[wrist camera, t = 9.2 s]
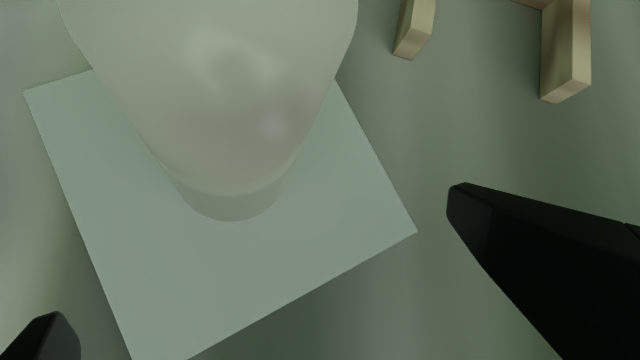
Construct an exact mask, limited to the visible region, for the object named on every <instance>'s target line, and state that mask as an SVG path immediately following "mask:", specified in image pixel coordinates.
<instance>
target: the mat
mask: <svg viewBox="0 0 640 360" xmlns="http://www.w3.org/2000/svg"><path fill="white" fill-rule="evenodd" d="M22 92H23V94H24V97H25V99H26V102H27V104H28V106H29V109H30V111H31V114H32V116H33V119H34V121H35V124H36V126H37V128H38V131H39V133H40V136H41V138H42V141H43V143H44V146H45V148H46V150H47V153H48V155H49V158H50V160H51V163H52V165H53V168H54V170H55V172H56V175H57V177H58V180H59V182H60V185H61V187H62V190H63V192H64V194H65V197H66V199H67V202H68V204H69V207H70V209H71V212H72V214H73V216H74V219H75V221H76V224H77V226H78V229H79V231H80V234H81V236H82V238H83V241H84V243H85V246H86V248H87V251H88V253H89V256H90V258H91V260H92V263H93V265H94V268H95V270H96V273H97V275H98V277H99V280H100V282H101V285H102V287H103V290H104V292H105V295H106V297H107V299H108V302H109V304H110V307H111V309H112V312H113V314H114V317H115V319H116V321H117V324H118V326H119V329H120V331H121V334H122V336H123V339H124V341H125V343H126V346H127V348H128V351H129V353H130V356H131V358H132V360H187V359H189V358H191V357H193V356H195V355H196V354H198V353H200V352H202V351H204V350H205V349H207V348H209V347H211V346H213V345H214V344H216V343H218V342H220V341H222V340H223V339H225V338H227V337H229V336H231V335H232V334H234V333H236V332H238V331H240V330H241V329H243V328H245V327H247V326H249V325H250V324H252V323H254V322H256V321H258V320H259V319H261V318H263V317H265V316H267V315H268V314H270V313H272V312H274V311H276V310H277V309H279V308H281V307H283V306H285V305H286V304H288V303H290V302H292V301H294V300H295V299H297V298H299V297H301V296H303V295H304V294H306V293H308V292H310V291H312V290H313V289H315V288H317V287H319V286H321V285H322V284H324V283H326V282H328V281H330V280H331V279H333V278H335V277H337V276H339V275H340V274H342V273H344V272H346V271H348V270H349V269H351V268H353V267H355V266H357V265H358V264H360V263H362V262H364V261H366V260H367V259H369V258H371V257H373V256H375V255H376V254H378V253H380V252H382V251H384V250H385V249H387V248H389V247H391V246H393V245H394V244H396V243H398V242H400V241H402V240H403V239H405V238H407V237H409V236H411V235H412V234H414V233H416V232H418V231H417V229H416V227H415V225H414V223H413V221H412V220H411V218H410V216H409V214H408V212H407V210H406V209H405V207H404V205H403V203H402V201H401V199H400V198H399V196H398V194H397V192H396V190H395V188H394V187H393V185H392V183H391V181H390V179H389V177H388V176H387V174H386V172H385V170H384V168H383V166H382V165H381V163H380V161H379V159H378V157H377V155H376V154H375V152H374V150H373V148H372V146H371V144H370V143H369V141H368V139H367V137H366V135H365V133H364V132H363V130H362V128H361V126H360V124H359V122H358V121H357V119H356V117H355V115H354V113H353V111H352V110H351V108H350V106H349V104H348V102H347V100H346V99H345V97H344V95H343V93H342V91H341V89H340V88H339V86H338V84H337V82H336V80H335V78H334V80H333V82H332V84H331V86H330V88H329V90H328V93H327V95H326V97H325V99H324V101H323V103H322V106H321V108H320V110H319V112H318V114H317V117H316V119H315V121H314V123H313V125H312V127H311V130H310V132H309V134H308V136H307V138H306V141H305V143H304V145H303V147H302V149H301V151H300V154H299V156H298V158H297V160H296V162H295V165H294V167H293V169H292V171H291V173H290V175H289V178H288V180H287V182H286V184H285V186H284V188H283V191H282V193H281V194H280V196H279V197H278V199H277V200H276V201H275V202H274V204H273V205H272V206H270V207H269V208H268V209H267V210H265V211H264V212H263V213H261V214H259V215H257V216H255V217H253V218H250V219H247V220H242V221H235V222H225V221H218V220H214V219H211V218H208V217H206V216H204V215H202V214H200V213H198V212H197V211H195V210H194V209H193V208H192V207H190V206H189V205H188V204H187V203H186V201H185V200H184V199H183V198H182V196H181V195H180V193H179V192H178V190H177V189H176V188H175V186H174V185H173V183H172V182H171V180H170V179H169V177H168V176H167V175H166V173H165V172H164V170H163V169H162V167H161V166H160V165H159V163H158V162H157V160H156V159H155V157H154V156H153V154H152V153H151V152H150V150H149V149H148V147H147V146H146V144H145V143H144V142H143V140H142V139H141V137H140V136H139V134H138V133H137V132H136V130H135V129H134V127H133V126H132V124H131V123H130V121H129V120H128V119H127V117H126V116H125V114H124V113H123V111H122V110H121V109H120V107H119V106H118V104H117V103H116V101H115V100H114V99H113V97H112V96H111V94H110V93H109V91H108V90H107V88H106V87H105V86H104V84H103V83H102V81H101V80H100V78H99V77H98V76H97V74H96V73H95V71H94V70H93V69H92V70H88V71H85V72H82V73H79V74H76V75H72V76H69V77H66V78H63V79H59V80H56V81H53V82H50V83H46V84H43V85H40V86H37V87H34V88H30V89H27V90H24V91H22Z"/></svg>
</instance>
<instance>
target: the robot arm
mask: <svg viewBox="0 0 640 360" xmlns="http://www.w3.org/2000/svg"><path fill="white" fill-rule="evenodd" d="M446 214H447V218H448V220H449V222H450V224H451V225H452V226H453V228H454V229H455V231H456V232H457V233H458V235H459V236H460V238H461V239H462V240H463V242H464V243H465V245H466V246H467V247H468V249H469V250H470V252H471V253H472V254H473V256H474V257H475V259H476V260H477V261H478V263H479V264H480V265H481V267H482V268H483V269H484V270H485V271H486V273H487V274H488V275H489V276H490V277H491V278H492V280H493V281H494V282H495V283H496V284H497V285H498V286H499V288H500V289H501V290H502V291H503V292H504V293H505V294H506V296H507V297H508V298H509V299H510V300H511V301H512V302H513V304H514V305H515V306H516V307H517V308H518V309H519V310H520V311H521V313H522V314H523V315H524V316H525V317H526V318H527V319H528V321H529V322H530V323H531V324H532V325H533V326H534V327H535V329H536V330H537V331H538V332H539V333H540V334H541V335H542V337H543V338H544V339H545V340H546V341H547V342H548V343H549V345H550V346H551V347H552V348H553V349H554V350H555V351H556V353H557V354H558V355H559V356H560V357H561V358H562V359H563V360H640V226H636V225H632V224H628V223H625V224H623V223H622V222H620V221H616V220H612V219H608V218H604V217H600V216H596V215H592V214H588V213H585V212H581V211H577V210H573V209H569V208H565V207H561V206H557V205H553V204H549V203H545V202H541V201H537V200H533V199H529V198H526V197H522V196H518V195H514V194H510V193H506V192H502V191H498V190H494V189H490V188H486V187H482V186H478V185H475V184H471V183H466V182H464V183H460V184H457V185H453V186H451V187H450V189H449V191H448V199H447V209H446ZM0 360H81V345H80V341H79V338H78V336H77V334H76V333H75V331H74V330H73V328H72V327H71V325H70V324H69V322H68V321H67V319H66V318H65V316H64V315H63V314H62V313H61V312H59V311H54V312H51V313H48V314H45V315H42V316H38V317H36V318H34V319H33V320H32V321H31V322H30V323H29V324H28V325H27V326H26V327H25V329H24V330H23V331H22V332H21V333H20V334H19V335H18V336H17V337H16V339H15V340H14V341H13V342H12V343H11V344H10V345H9V346H8V347H7V349H6V350H5V351H4V352H3V353H2V354H1V355H0Z"/></svg>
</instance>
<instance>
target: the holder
mask: <svg viewBox="0 0 640 360" xmlns="http://www.w3.org/2000/svg"><path fill="white" fill-rule="evenodd" d="M512 1H515V2H518V3H521V4H524V5H527V6H530V7H533V8H536V9H539V10H542V32H541V62H540V93H539V99H541V100H544V101H547V102H550V103H554V104H558V103H560V102H561V101H563V100H565V99H567V98H568V97H570V96H572V95H574V94H576V93H577V92H579V91H581V90H583V89H584V88H586V87H588V86H590V85H591V33H590V0H512ZM435 5H436V0H401V6H400V12H399V18H398V24H397V30H396V36H395V42H394V48H393V54H392V55H395V56H399V57H402V58H405V59H409V60H412V59H413V58H414V57H415V55H416V54H417V53H418V51H419V50H420V49H421V47H422V46H423V45H424V44H425V42H426V41H427V40H428V38H429V37H430V36H431V35H432V27H433V20H434V12H435Z"/></svg>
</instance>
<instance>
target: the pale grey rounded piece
mask: <svg viewBox="0 0 640 360" xmlns="http://www.w3.org/2000/svg"><path fill="white" fill-rule="evenodd" d="M56 2H57V6H58V9H59V12H60V15H61V18H62V21H63V23H64V25H65V27H66V29H67V31H68V33H69V35H70V37H71V38H72V40H73V41H74V43H75V44H76V45H77V47H78V48H79V50H80V51H81V53H82V54H83V55H84V57H85V58H86V60H87V61H88V63H89V64H90V66H91V67H92V68H93V70H94V71H95V73H96V74H97V76H98V77H99V78H100V80H101V81H102V83H103V84H104V86H105V87H106V88H107V90H108V91H109V93H110V94H111V96H112V97H113V99H114V100H115V101H116V103H117V104H118V106H119V107H120V109H121V110H122V111H123V113H124V114H125V116H126V117H127V119H128V120H129V121H130V123H131V124H132V126H133V127H134V129H135V130H136V132H137V133H138V134H139V136H140V137H141V139H142V140H143V142H144V143H145V144H146V146H147V147H148V149H149V150H150V152H151V153H152V154H153V156H154V157H155V159H156V160H157V162H158V163H159V165H160V166H161V167H162V169H163V170H164V172H165V173H166V175H167V176H168V177H169V179H170V180H171V182H172V183H173V185H174V186H175V188H176V189H177V190H178V192H179V193H180V195H181V196H182V198H183V199H184V200H185V201H186V203H187V204H188V205H189V206H190V207H192V208H193V209H194V210H195V211H197V212H198V213H200V214H202V215H204V216H206V217H208V218H211V219H214V220H218V221H225V222H235V221H242V220H247V219H250V218H253V217H255V216H257V215H259V214H261V213H263V212H264V211H265V210H267V209H268V208H269V207H270V206H272V205H273V204H274V202H275V201H276V200H277V199H278V197H279V196H280V194H281V193H282V191H283V188H284V186H285V184H286V182H287V180H288V178H289V175H290V173H291V171H292V169H293V167H294V165H295V162H296V160H297V158H298V156H299V154H300V151H301V149H302V147H303V145H304V143H305V141H306V138H307V136H308V134H309V132H310V130H311V127H312V125H313V123H314V121H315V119H316V117H317V114H318V112H319V110H320V108H321V106H322V103H323V101H324V99H325V97H326V95H327V93H328V90H329V88H330V86H331V84H332V82H333V80H334V77H335V75H336V73H337V71H338V69H339V66H340V64H341V62H342V60H343V58H344V56H345V53H346V51H347V49H348V47H349V45H350V42H351V40H352V38H353V34H354V31H355V27H356V23H357V15H358V0H56Z"/></svg>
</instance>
